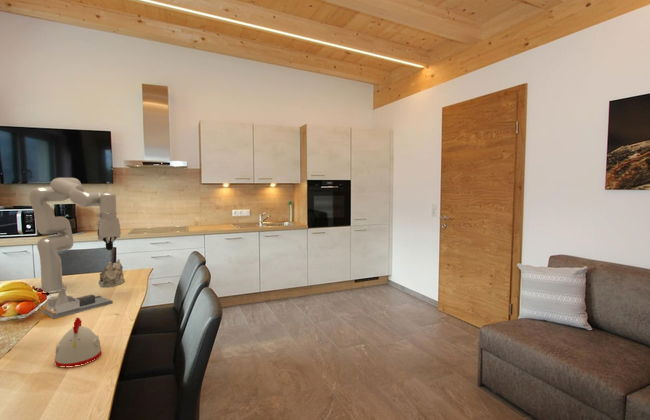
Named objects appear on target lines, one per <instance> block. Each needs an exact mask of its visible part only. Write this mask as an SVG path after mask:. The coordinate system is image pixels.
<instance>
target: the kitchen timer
mask: <svg viewBox="0 0 650 420" xmlns="http://www.w3.org/2000/svg"><path fill="white" fill-rule="evenodd" d="M54 353H55V356H54V364H55V363H56V365H58V366H65V367H66V366H75V365H81V364H85V363H87V362H90V361H92V360H94V359H96V358H97V359H99V358H100V357H101V355H102V346H101V340H100V336H99V334H97V335H96V334H95V333H94V331H93V330H92V329H90V328H88V327H86V326H83V325H82V320H81V318H80V317H76V318H75V320H74V322H73V326H72V328H70V329H69V330H68V331H67V332H66V333H65V334H64V335H63V336H62V338H61V340H59V342H58V343H57V344H56V346H55V352H54ZM99 356H100V357H99ZM98 357H99V358H98ZM97 359H96V360H97ZM94 361H95V360H94ZM92 362H93V361H92ZM90 363H91V362H90ZM56 365H55V366H56ZM85 365H86V364H85ZM58 366H57V367H58Z"/></svg>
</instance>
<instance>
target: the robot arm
mask: <svg viewBox="0 0 650 420" xmlns="http://www.w3.org/2000/svg"><path fill="white" fill-rule="evenodd" d="M84 189H85V188H84V186H83V185H82V183H81V181H80V180H79V179H78V178H75V177H55V178H53V179H52V180H51V181H50V185H49V186H38V187H35V188H33V189H32V190H30V192H29V196H28V200H29V203H30V205H31V209H32V210H33V214H34V219H35V224H36V229H37V231H38V233H39V234H41V235H49V236H44V237H41V238H40V239H39V240H38V241H37V244H36V247H37V251H38V254H39V262H40V264H39V265H40V281H41V288H40V289H42V290H43V291H44V292H48V293H49V294H56V293H59V292H58V290H59V289H66V290H67V286H66V285H63V267H62V258H61V255H59V254H58V253H59V252H65V251H68V250H70V249H72V247H73V246H74V237H73V231H72V226H71V223H70V221H69V219H68V218H66V217H65V216H55V214H54V210H53V208H52V207H51V205H49V202H63V201H66V200H68V199H70V201H71V202H72V203H73V204H75V205H78V206H81V207H84V208H87V207H89V208H90V207H99V213H98V214H96V215H97V218H99V219H98V221H97V227H96V228H97V231H96V233H97V240H99V241H103V242H104V243H105V249H106V250H108V251H112V250H113V248H114V242H115V241H116V239H119V238H120V237H121V232H122V231H121V230H122V229H121V224H120V223H121V222H120V220H119V218H118V216H117V195H116V194H115V193H114V192H102V191H94V192H93V191H90V192H88V191H87V192H86V191H85V190H84ZM53 234H57V235H53ZM57 252H58V253H57Z"/></svg>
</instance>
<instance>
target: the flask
mask: <svg viewBox="0 0 650 420" xmlns="http://www.w3.org/2000/svg"><path fill="white" fill-rule="evenodd" d="M66 291H67V288H66V289H59V290H58V292H57V293H58V295H57V298H58V299H57V302H56V304H55V307H54V309H53V311H56V305H59V304H63V303H67V302H69V300H68V298H67V296H68V295H67V293H66Z"/></svg>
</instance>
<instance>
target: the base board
mask: <svg viewBox="0 0 650 420" xmlns="http://www.w3.org/2000/svg"><path fill="white" fill-rule="evenodd" d="M113 303H114V302H113V300H110V299H109V298H106V297H104V296H101V295H97V296H96V295H95V302H94V303H90V304H86V305H82V306H80V308H79V309H76V310H72V311H68V312H64V313H60V314H56V311H53V309H54V308H52V309H49V308H48V306H46V307H43V309H44V310H42V312H43V313H44V314H45V315H47V316H48V317H50V318H52V319H59V318H61V317H65V316H69V315H73V314H76V313H80V312H81V313H82V312H84V311H88V310H92V309H97V308H100V307H104V306H107V305H111V304H113Z"/></svg>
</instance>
